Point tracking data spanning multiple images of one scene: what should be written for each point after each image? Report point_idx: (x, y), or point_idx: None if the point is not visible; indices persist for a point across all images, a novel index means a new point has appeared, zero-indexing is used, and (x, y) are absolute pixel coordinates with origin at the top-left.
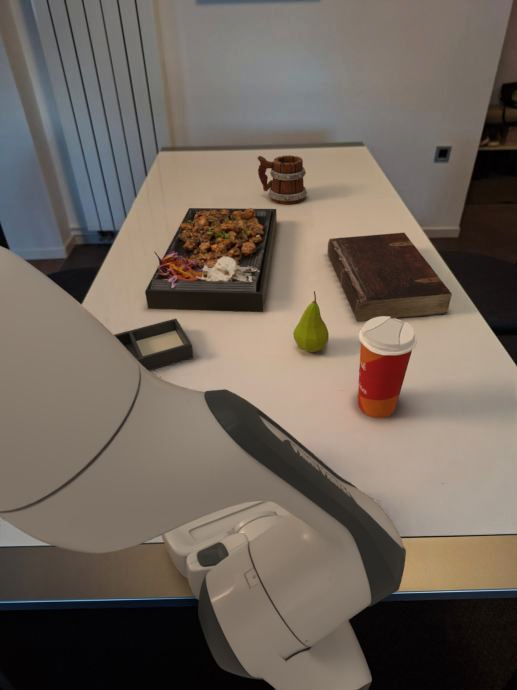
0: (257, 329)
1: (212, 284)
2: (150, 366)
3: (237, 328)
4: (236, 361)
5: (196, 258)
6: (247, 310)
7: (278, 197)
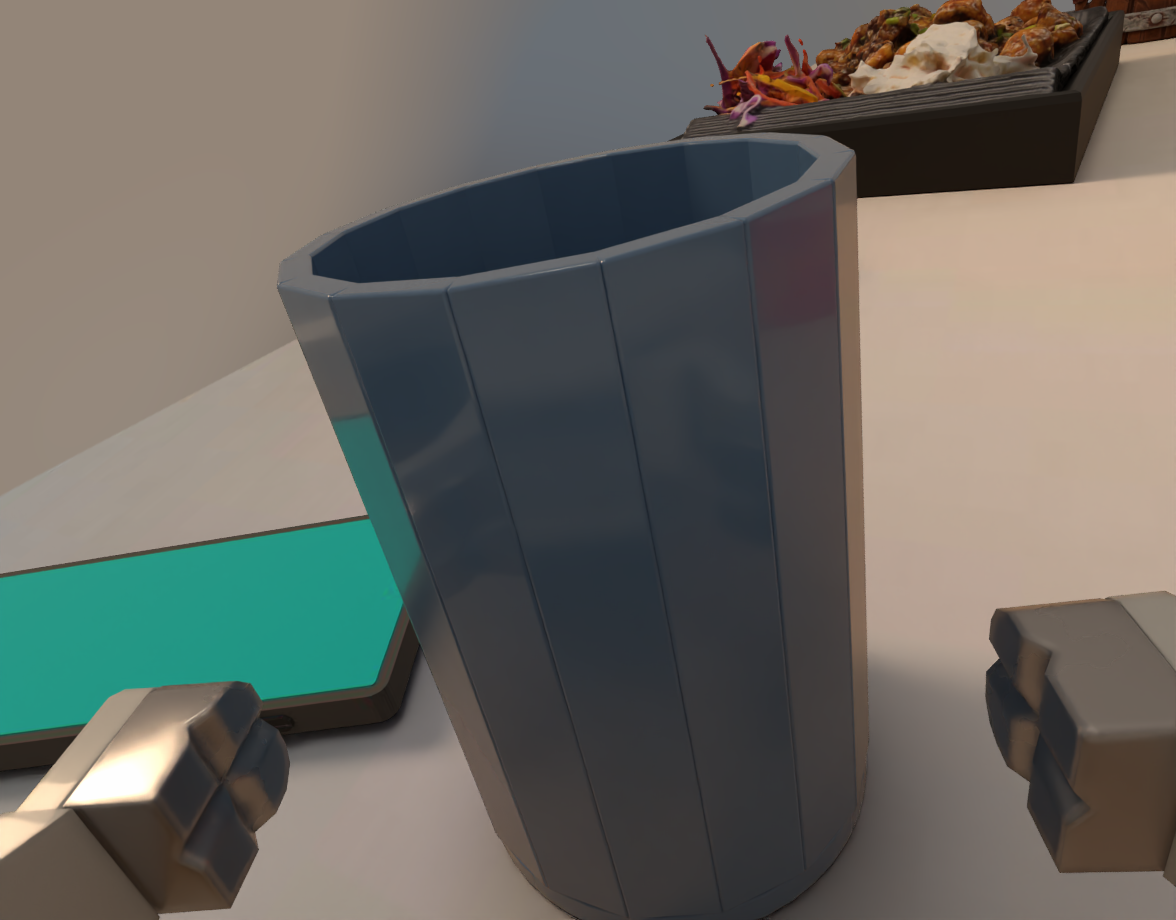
0: (1047, 216)
1: (877, 100)
2: None
3: (956, 220)
4: (936, 290)
5: (842, 88)
6: (1005, 182)
7: (1125, 23)
